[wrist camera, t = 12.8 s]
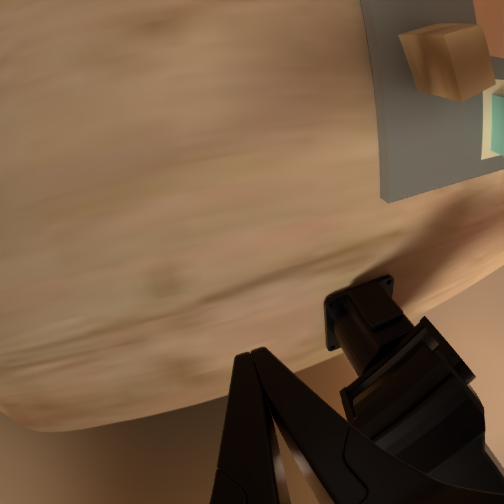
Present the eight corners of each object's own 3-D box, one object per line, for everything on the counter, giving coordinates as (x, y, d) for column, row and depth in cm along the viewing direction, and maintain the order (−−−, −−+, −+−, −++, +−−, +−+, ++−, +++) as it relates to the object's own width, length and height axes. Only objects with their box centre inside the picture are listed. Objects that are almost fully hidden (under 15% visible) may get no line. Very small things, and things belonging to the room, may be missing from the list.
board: (512, 160, 23) (519, 164, 23) (380, 197, 22) (388, 203, 21) (501, -21, 13) (509, -21, 12) (342, -68, 11) (350, -73, 10)
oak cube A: (453, 75, 17) (495, 84, 13) (417, 91, 17) (461, 102, 14) (437, 23, 14) (481, 24, 11) (397, 34, 15) (443, 35, 11)
